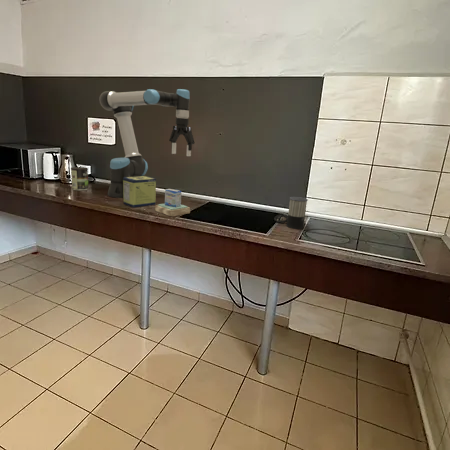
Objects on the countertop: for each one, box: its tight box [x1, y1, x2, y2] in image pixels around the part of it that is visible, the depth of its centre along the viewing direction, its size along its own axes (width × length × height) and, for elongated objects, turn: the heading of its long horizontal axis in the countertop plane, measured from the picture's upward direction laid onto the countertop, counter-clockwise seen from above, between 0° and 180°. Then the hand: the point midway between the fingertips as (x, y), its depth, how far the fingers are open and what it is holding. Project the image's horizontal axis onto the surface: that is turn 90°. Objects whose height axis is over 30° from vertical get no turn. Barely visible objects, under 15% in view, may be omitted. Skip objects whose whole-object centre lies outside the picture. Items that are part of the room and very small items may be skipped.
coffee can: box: [70, 166, 90, 191], centre depth 220 cm, size 10×10×14 cm
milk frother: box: [274, 196, 309, 230], centre depth 172 cm, size 14×16×15 cm
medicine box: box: [164, 188, 182, 207], centre depth 179 cm, size 8×4×9 cm, turn 61°
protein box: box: [123, 175, 157, 208], centre depth 191 cm, size 10×16×16 cm
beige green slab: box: [154, 204, 191, 217], centre depth 181 cm, size 14×13×3 cm
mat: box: [157, 203, 189, 210], centre depth 181 cm, size 12×11×1 cm
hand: (181, 155), depth 199 cm, fingers open, 13 cm apart
